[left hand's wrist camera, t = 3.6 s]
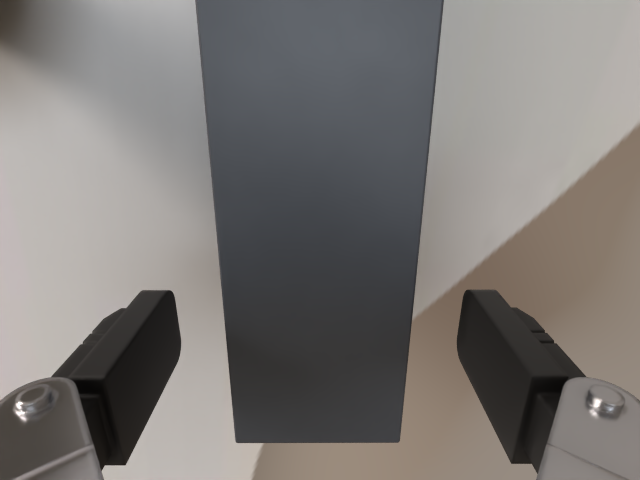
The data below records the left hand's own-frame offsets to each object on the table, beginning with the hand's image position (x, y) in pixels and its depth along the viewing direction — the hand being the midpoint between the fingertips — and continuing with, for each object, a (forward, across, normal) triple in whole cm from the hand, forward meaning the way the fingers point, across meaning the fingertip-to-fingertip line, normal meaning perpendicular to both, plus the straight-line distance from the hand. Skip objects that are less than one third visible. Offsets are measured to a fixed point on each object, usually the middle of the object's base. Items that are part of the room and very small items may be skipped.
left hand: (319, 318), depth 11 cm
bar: (+8, 0, +9) cm, 12 cm away
